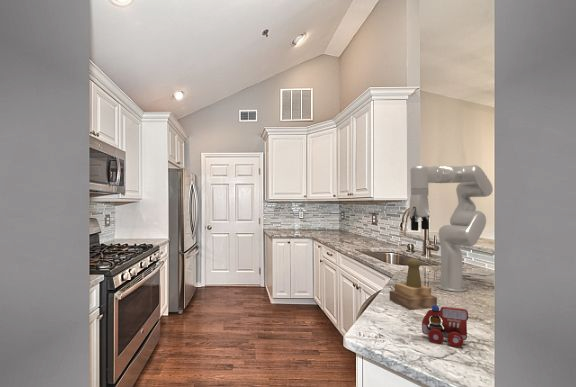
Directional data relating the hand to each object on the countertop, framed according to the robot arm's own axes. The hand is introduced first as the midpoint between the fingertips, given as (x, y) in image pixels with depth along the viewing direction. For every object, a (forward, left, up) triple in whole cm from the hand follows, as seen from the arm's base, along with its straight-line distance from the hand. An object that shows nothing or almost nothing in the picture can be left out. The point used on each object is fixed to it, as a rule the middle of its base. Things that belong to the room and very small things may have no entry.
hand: (419, 229), depth 143 cm
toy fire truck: (+27, +43, -30) cm, 59 cm away
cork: (+12, +10, -23) cm, 27 cm away
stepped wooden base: (+12, +10, -30) cm, 34 cm away
